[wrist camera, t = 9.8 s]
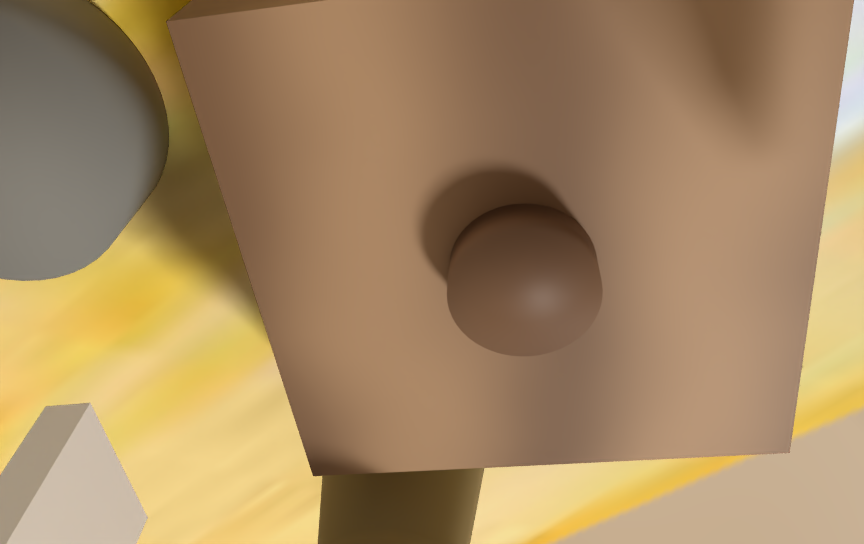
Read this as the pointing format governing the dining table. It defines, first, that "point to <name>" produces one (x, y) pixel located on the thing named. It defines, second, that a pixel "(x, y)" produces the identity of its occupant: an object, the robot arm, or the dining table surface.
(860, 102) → the dining table surface
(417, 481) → the pepper shaker
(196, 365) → the dining table surface
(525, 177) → the lid
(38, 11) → the grey flattened dome
